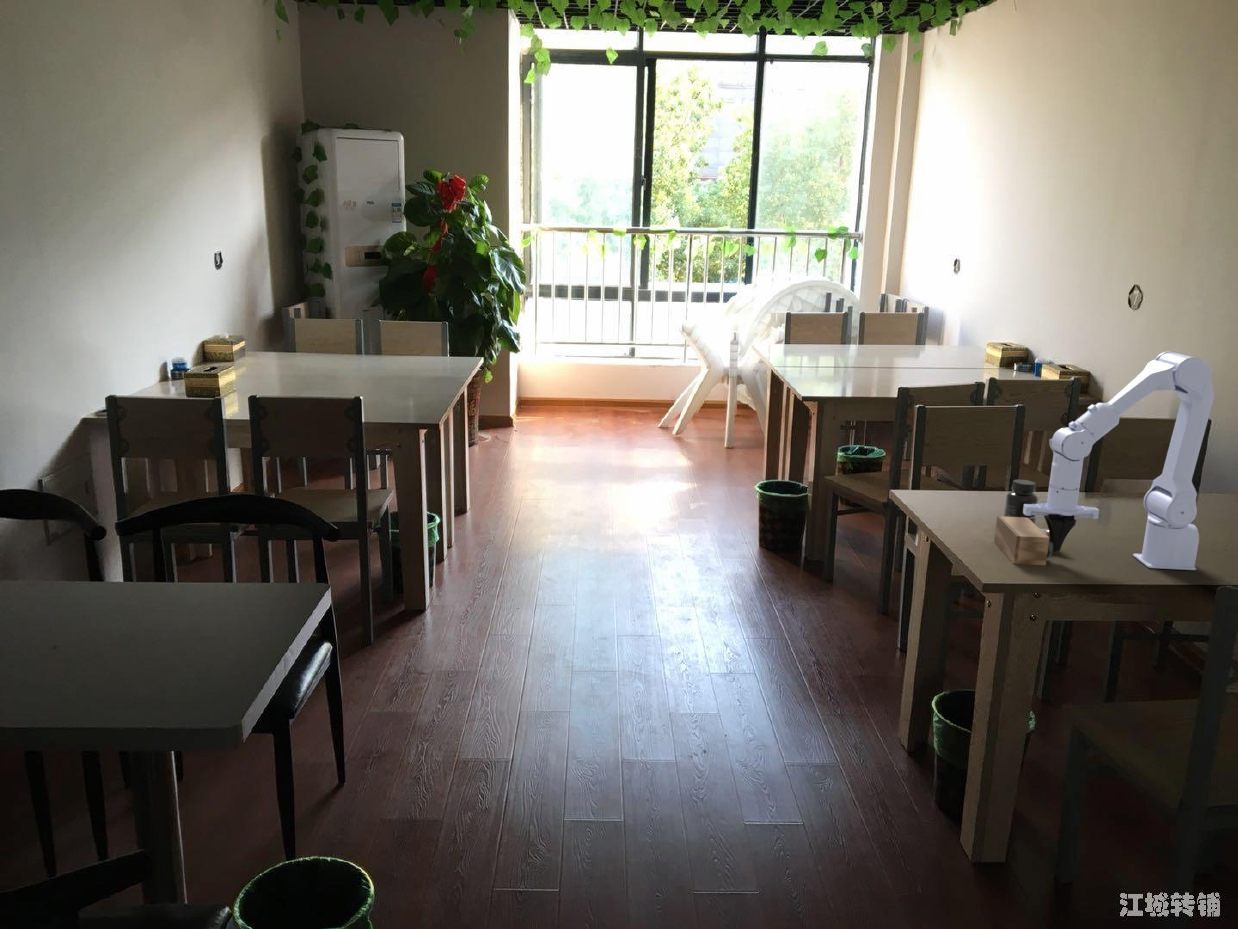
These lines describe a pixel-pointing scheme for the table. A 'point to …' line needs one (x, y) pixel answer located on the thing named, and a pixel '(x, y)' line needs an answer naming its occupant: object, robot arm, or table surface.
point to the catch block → (1021, 540)
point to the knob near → (1050, 548)
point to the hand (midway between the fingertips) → (1055, 549)
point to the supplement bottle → (1020, 499)
